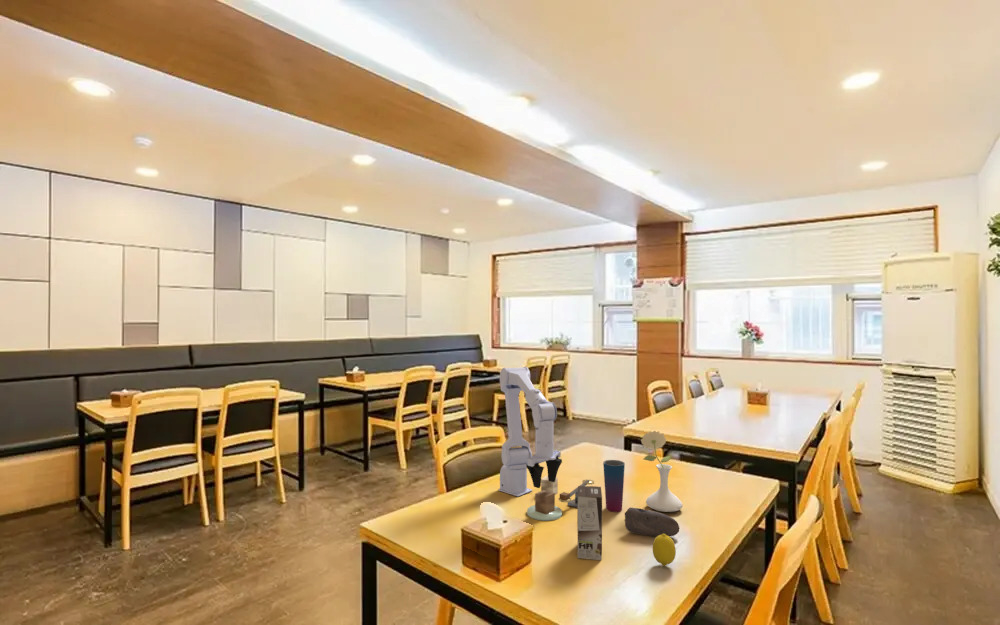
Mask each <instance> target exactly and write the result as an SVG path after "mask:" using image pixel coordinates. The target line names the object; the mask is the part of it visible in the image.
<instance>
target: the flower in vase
mask: <svg viewBox="0 0 1000 625" xmlns="http://www.w3.org/2000/svg"><path fill="white" fill-rule="evenodd" d="M665 437H666V436H665V434H664V433H660V431H656V430H653V431H652V430H650V431H648V432H645V434H644V435H643V436H642V438H641V439H640V442H641V445H642V446H643V447H644V448H645V449H649V450H653V451H654V455H653V454H647V455H646V456H644V458H643V460H645V461H649V462H654V461H655V460H656V459H657V461H658V462H659V464H656V465H655V466H656V469H657V470H658V472H659V477H660V478H659V479H660V483H659V484H660V487H659V488H658V489H657V490H656V491H654V492H653V493H651V494H650V495H649V496H648V497H647V498H646V499H645V503H646V505H647V507H649V508H650V509H653V510H655V511H657V512H663V513H665V512H666V513H673V512H677V511H678V512H679V511H680V510H681V509H682V508H683V505H684V504H683V503H682V500H680V499H679V497H678V496H676V495H675V494H674V492H673V493H672V491H671V490H670V489H669V486H668V485H669V483H668V482H669V481H668V479H669V473H670V471H671V470H672V468H673V466H672V465H670V464H666V463H667V462H669V461H670V460H671V459H672V457H673V454H670V455H667V456H664V457H662V459H661V461H660V459H659V458H658V456H657V451H656V450H659V449H661V448H663V447H664V446H665V444H666V442H667V441H666V440H667V439H666V438H665Z"/></svg>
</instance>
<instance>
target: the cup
mask: <svg viewBox="0 0 1000 625" xmlns="http://www.w3.org/2000/svg"><path fill="white" fill-rule="evenodd" d="M602 465H603V478H604V479H603V480H604V481H603V482H604V494H605V510H607V511H609V512H612V513H618V512H622V511H623V499H624V485H625V484H624V482H625V465H626V464H625V462H624V461H622V460H619V459H606V460H604V461H603V463H602Z"/></svg>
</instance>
